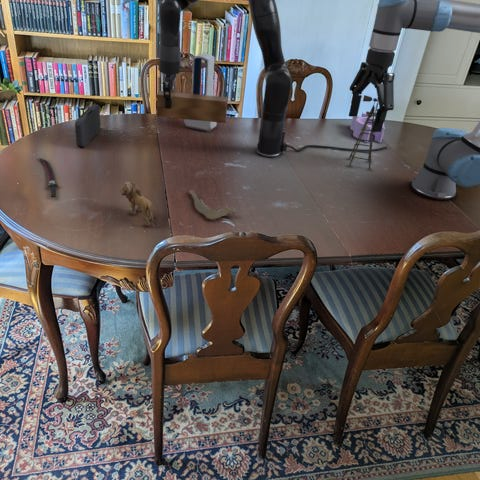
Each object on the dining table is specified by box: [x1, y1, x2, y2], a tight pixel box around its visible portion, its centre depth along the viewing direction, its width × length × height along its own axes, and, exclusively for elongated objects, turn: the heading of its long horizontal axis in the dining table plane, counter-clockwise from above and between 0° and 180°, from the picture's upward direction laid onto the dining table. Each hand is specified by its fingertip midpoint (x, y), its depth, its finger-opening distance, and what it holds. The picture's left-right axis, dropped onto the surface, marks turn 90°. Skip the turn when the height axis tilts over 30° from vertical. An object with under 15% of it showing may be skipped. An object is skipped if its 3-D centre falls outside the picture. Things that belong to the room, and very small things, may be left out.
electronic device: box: [183, 53, 218, 133], centre depth 195 cm, size 12×8×30 cm, turn 71°
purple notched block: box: [349, 112, 386, 143], centre depth 214 cm, size 20×12×7 cm, turn 11°
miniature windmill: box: [348, 94, 379, 170], centre depth 177 cm, size 9×8×30 cm
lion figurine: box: [119, 181, 159, 227], centre depth 134 cm, size 15×5×9 cm, turn 50°
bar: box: [156, 90, 229, 124], centre depth 173 cm, size 26×6×8 cm, turn 88°
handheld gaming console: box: [74, 103, 101, 148], centre depth 180 cm, size 23×3×10 cm, turn 178°
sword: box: [40, 158, 59, 198], centre depth 151 cm, size 31×3×1 cm, turn 26°
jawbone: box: [188, 189, 239, 221], centre depth 143 cm, size 9×20×2 cm, turn 50°
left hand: (169, 105), depth 173 cm, fingers closed on bar, 5 cm apart
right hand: (364, 123), depth 142 cm, fingers open, 13 cm apart
